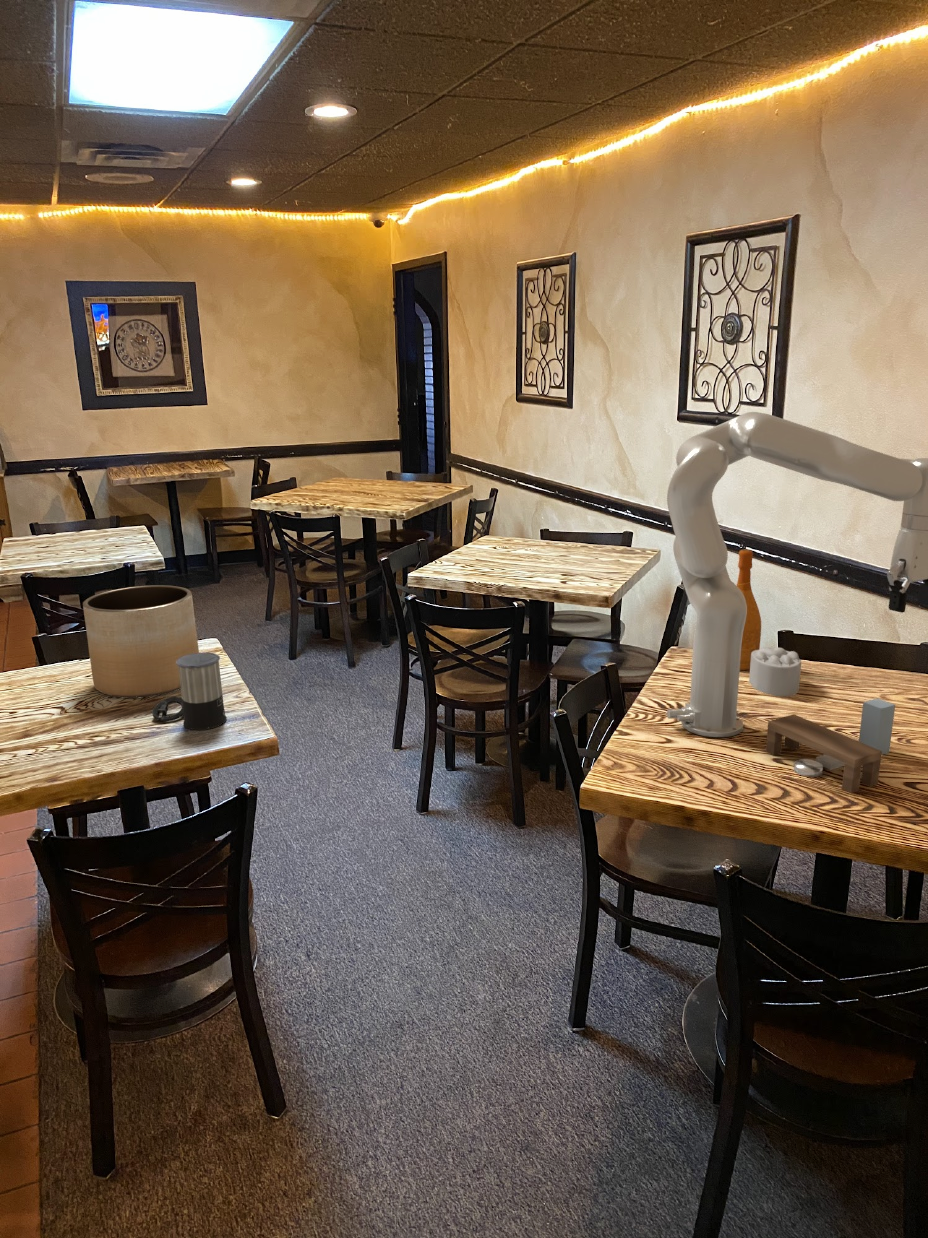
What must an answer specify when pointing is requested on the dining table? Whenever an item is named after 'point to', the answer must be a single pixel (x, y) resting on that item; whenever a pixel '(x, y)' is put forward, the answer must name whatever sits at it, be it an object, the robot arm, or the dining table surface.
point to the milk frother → (197, 693)
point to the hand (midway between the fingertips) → (911, 607)
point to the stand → (827, 748)
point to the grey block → (870, 729)
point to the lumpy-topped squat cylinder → (775, 671)
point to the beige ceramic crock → (139, 639)
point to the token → (808, 768)
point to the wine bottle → (748, 611)
